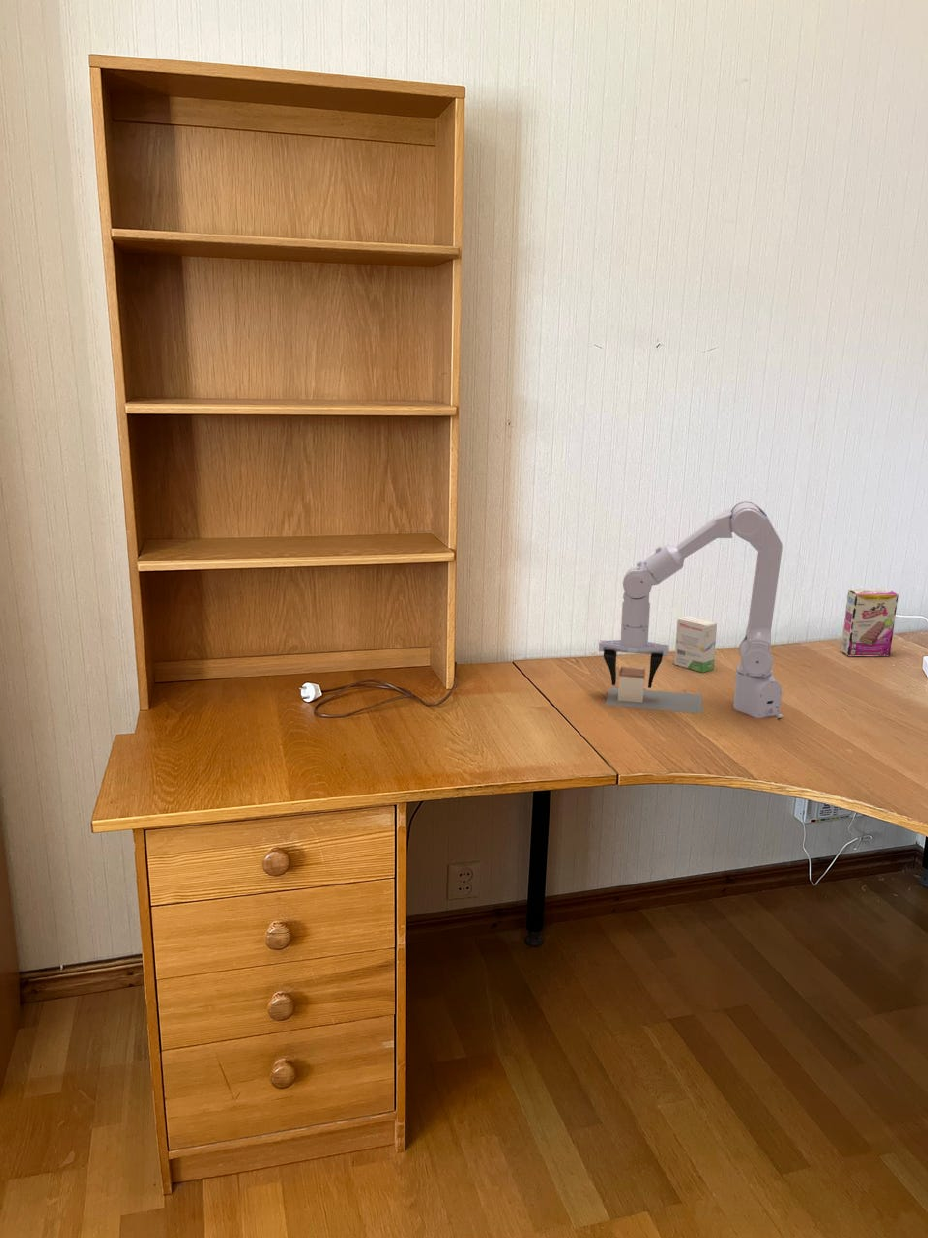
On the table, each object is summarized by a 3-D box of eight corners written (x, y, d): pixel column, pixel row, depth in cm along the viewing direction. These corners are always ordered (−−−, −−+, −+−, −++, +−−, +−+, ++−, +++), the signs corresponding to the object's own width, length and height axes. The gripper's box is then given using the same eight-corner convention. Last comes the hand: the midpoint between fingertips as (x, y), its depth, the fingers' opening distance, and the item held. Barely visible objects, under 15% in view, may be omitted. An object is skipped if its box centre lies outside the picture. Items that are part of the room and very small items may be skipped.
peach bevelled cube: (643, 694, 211) (645, 668, 209) (642, 702, 206) (644, 675, 204) (619, 692, 212) (621, 666, 210) (617, 700, 207) (619, 673, 205)
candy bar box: (848, 657, 242) (855, 593, 238) (839, 651, 247) (846, 589, 243) (891, 657, 243) (899, 593, 238) (882, 651, 248) (889, 588, 243)
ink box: (714, 669, 232) (718, 622, 229) (702, 673, 229) (706, 625, 225) (685, 661, 238) (689, 614, 235) (673, 664, 235) (676, 618, 232)
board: (701, 698, 211) (701, 694, 211) (702, 717, 200) (702, 713, 200) (609, 691, 216) (609, 686, 215) (604, 709, 204) (605, 705, 204)
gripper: (598, 626, 202) (596, 688, 206) (669, 631, 199) (665, 693, 203) (601, 618, 209) (599, 677, 212) (670, 622, 206) (666, 683, 209)
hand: (631, 684), depth 208 cm, fingers open, 7 cm apart
